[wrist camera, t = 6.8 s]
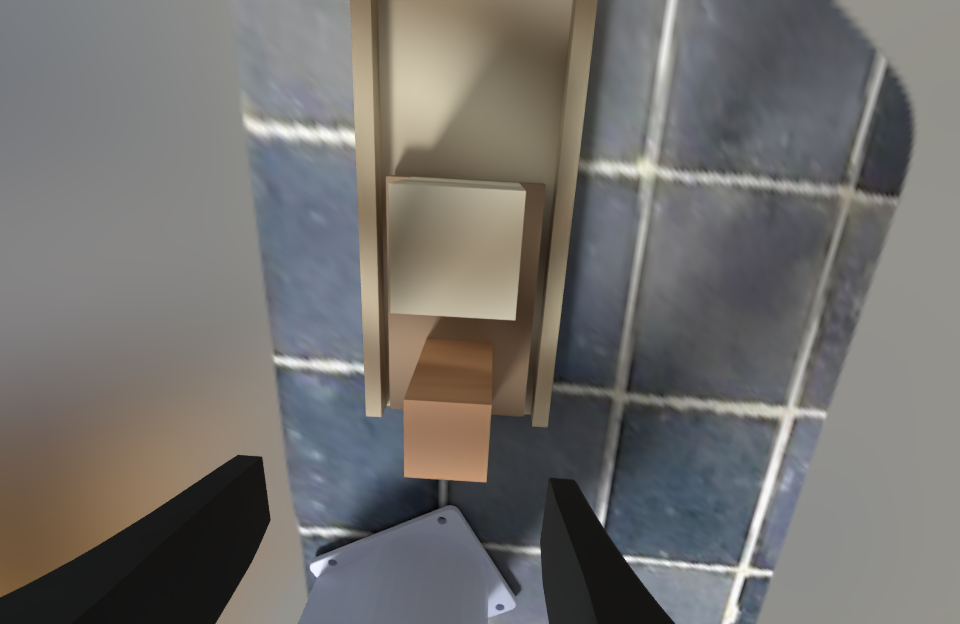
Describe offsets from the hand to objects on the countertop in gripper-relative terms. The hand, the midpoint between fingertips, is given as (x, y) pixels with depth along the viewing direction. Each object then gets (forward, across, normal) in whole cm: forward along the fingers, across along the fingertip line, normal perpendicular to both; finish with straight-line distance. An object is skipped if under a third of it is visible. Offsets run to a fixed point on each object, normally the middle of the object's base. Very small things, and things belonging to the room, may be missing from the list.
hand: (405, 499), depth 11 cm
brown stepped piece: (+9, -1, -2) cm, 10 cm away
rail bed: (+10, -1, -5) cm, 12 cm away
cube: (+8, -1, -5) cm, 10 cm away
